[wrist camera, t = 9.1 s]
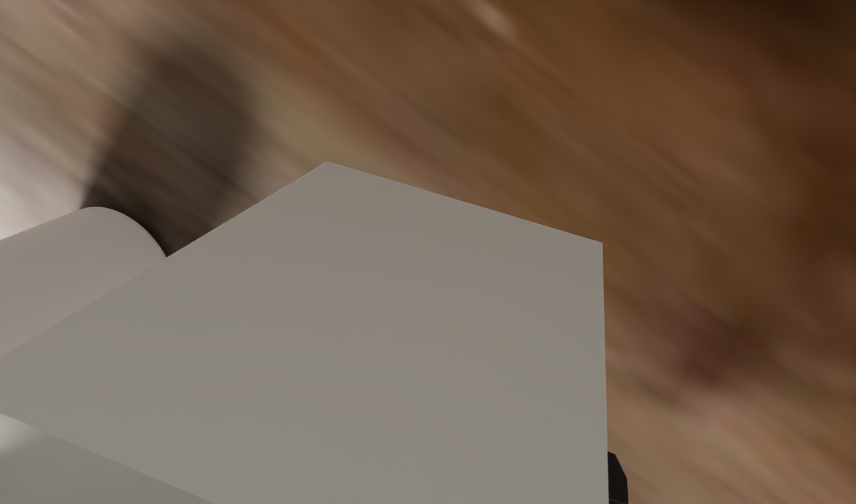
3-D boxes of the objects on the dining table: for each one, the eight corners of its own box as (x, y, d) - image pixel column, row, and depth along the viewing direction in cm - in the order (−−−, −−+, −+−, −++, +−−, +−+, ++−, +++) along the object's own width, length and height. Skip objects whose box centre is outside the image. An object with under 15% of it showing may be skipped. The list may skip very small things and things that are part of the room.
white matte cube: (327, 161, 13) (-55, 389, 5) (602, 243, 12) (612, 672, 4) (304, 370, 16) (44, 699, 9) (519, 449, 15) (440, 906, 8)
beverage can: (190, 239, 31) (-23, 357, 20) (175, 341, 34) (-10, 485, 24) (73, 180, 31) (-191, 265, 21) (71, 287, 35) (-153, 404, 25)
